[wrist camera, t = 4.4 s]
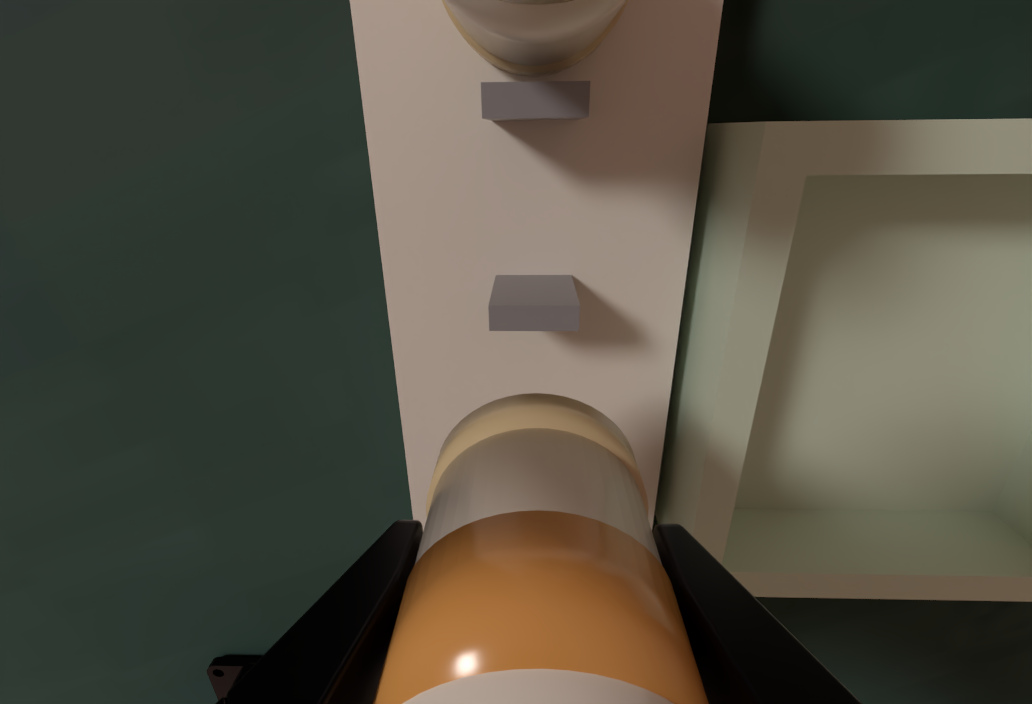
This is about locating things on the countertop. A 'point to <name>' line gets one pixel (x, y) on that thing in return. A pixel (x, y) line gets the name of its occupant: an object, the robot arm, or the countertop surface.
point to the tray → (859, 360)
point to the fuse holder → (534, 217)
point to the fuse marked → (538, 571)
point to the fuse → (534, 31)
